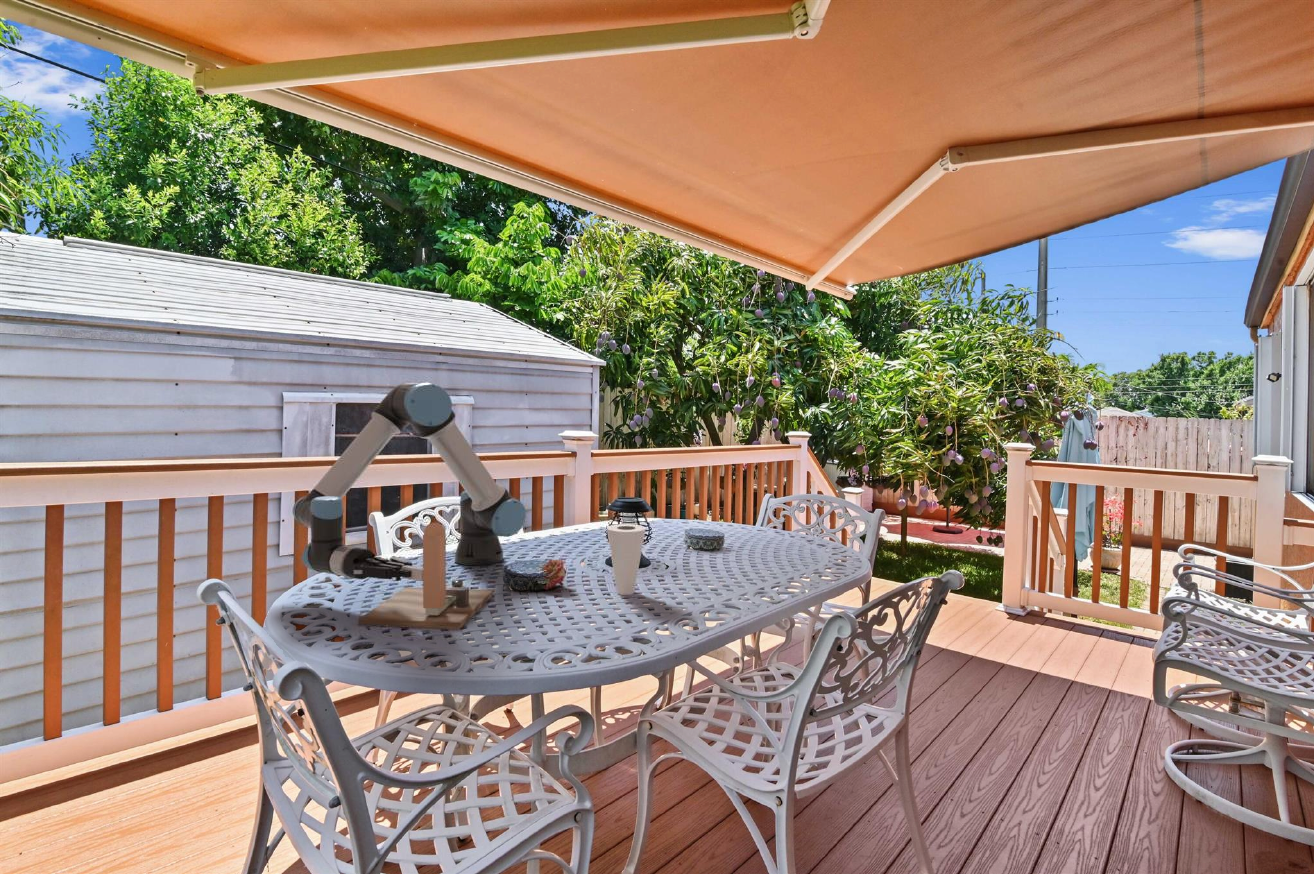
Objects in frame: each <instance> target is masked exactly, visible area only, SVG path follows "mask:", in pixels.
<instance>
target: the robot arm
mask: <svg viewBox="0 0 1314 874" xmlns="http://www.w3.org/2000/svg"><path fill="white" fill-rule="evenodd" d="M452 406H453V402H452V398H451V396H450V394H449V393H448V391H446V390H445V388H443V387H442V386H440V385H439V384H436V383H431V382H428V381H426V382H423V381H422V382H404V383H401V384H398V385H397V386H395V387H394V388H393V389H391V390H390V391H389V392H388V393H387V394H386V396H384V398H383V399H382V400H381V402H380V403H379V404H378V405H377V406H376V407H375V408H374V410H373V411H372V412H371V419H370V420H369V421H368V423H367V424H366V425H365V426H364V428H363V429H362V430H361V431H360V432H359V434H358V435H357V436H356V437H355V438H354V439H353V441H351V443H350V444H349V445H348V447H347V448H346V449H345V450H344V452H343V453H342V454H341V455H340V456H339V458H338V459H337V460H336V461H335V462H334V463H333V464H332V466H331V467H330V468H329V469H328V471H327V472H326V473H325V474H324V475H323V477H322V478H321V479H320V480H319V481H318V482H317V484H316V485H315V486H314V487H313V488H312V490H311V491H309V493H308V494H307V495H306V496H303V497H301V498H299V499H298V500H297V501H295V502H294V504H293V507H292V516H293V518H294V519H295V520H296V522H298V524H301V526H305V527H307V528H309V529H310V543H308V544H307V545H305V547H304V550H303V552H302V554H301V560H302V564H303V565H304V566H305V568H307V569H309V570H312V571H315V572H317V573H324V574H332V575H336V576H342V577H343V578H344V579H348V578H351V579H356V580H365V579H368V578H370V579H371V578H372V579H384V580H393V578H395V582H396V581H397V582H399V581H401V580H402V579H401V578H403V579H407V580H414V581H419V582H423V567H418V566H413V562H410V561H407V560H403V559H402V558H399V557H397V556H395V555H393V556H391V557H390V558H384V557H382V556H377V555H376V554H375V553H374V552H373V551H372V550H370V549H367V548H361V547H357V546H349V545H345V544H344V514H345V513H344V512H345V510H344V505H343V504H344V503H343V498H344V497H345V495H346V494H347V493H348V492H349V491H350V489H351V488H352V487H353V486H354V484H355V483H356V482H358V479H359V478H361V476H362V475H363V473H365V471H366V470H367V468H368V467H369V466H370V465H371V463H372V462H373V461H375V459H376V458H377V457H378V455H379V454H380V452H382V450H384V448H385V447H386V446H387V444H388V443H389V442H390V441H391V439H392V438H393V437H394V436H395V435H401V433H402V432H403V430H405V428H406V427H407V426H409V425H411V427H412V428H413V430H414V431H415V432H416V434H417V435H418V436H419V438H421V439H425V440H426V439H427V440H428V441H429V442H430V444H431V445H432V446H433V448H434V449H435V450H436V452H437V453H438V455H439V456H440V458H441V459H442V461H444V463H445V464H446V466H447V467H448V469H449V470H450V471H451V473H452V475H453V476H454V478H455V479H456V480H457V481H458V483H459V484H460V485H461V487H462V488H463V489H464V491H462V492H461V494H460V500H459V504H460V506H459V507H460V511H459V512H460V515H459V517H460V538H459V541H458V543H457V546H456V550H455V553H454V562H455V563H456V564H459V565H464V566H484V565H485V566H486V565H492V564H497V563H499V562H501V561H503V560H504V551H503V548H502V545H501V542H500V539H499V537H503V538H507V537H513V536H515V535H516V534H517V533H519V531H521V530H522V528H523V527H524V524H525V522H526V518H527V511H526V507H525V505H524V504H523V503H522V502H521V501H520V500H519V499H516V498H513V496H512V495H511V493H510V492H509V491H508V489H507V488H506V486H505V485H503V484H499V483H497V482H496V481H495V480H494V478H493V476H492V475H491V473H490V472H489V471H488V470H487V468H486V467H485V465H484V464H483V462H482V461H481V459H480V458H479V456H478V455H477V454H476V451H474V449H473V448H472V446H471V445H470V443H469V442H468V440H467V438H466V437H465V436H464V434H463V433H462V432H461V430H460V429H459V427H458V426H457V424H456V423H455V420H456V417H457V416H456V413H455V412H454V410H453V408H452Z"/></svg>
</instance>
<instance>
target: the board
mask: <svg viewBox="0 0 1314 874" xmlns="http://www.w3.org/2000/svg"><path fill="white" fill-rule="evenodd" d="M493 596H494V590H493V589H472V588H469V605H468V606H467V607H466V608H463V607H456V600H454V601H453V602H452V603H451V604H450V605H449V606H448V607H447V608H446V609H444V610H443V611H442V612H441V613H440V614H439V615H425V608H423V587H412V586H411V587H408V586H405V587H403V588H402V589H401V590H399V591H397V592H396V593H395V594H393V595H392V596H390V597H388V599H386V600H384V601H383V602H382V603H380V604H378V605H377V606H376V607H374V608H372V609H371V610H369V611H368V612H366V613H365V614H363V616H361V617H359V618H358V626H363V625H385V626H384V627H391V626H397V628H418V627H420V628H424V629H452V630H461V629H462V628H463V626H465V625H466V623H467V622H468V621H469V620H470V619H471V618H473V616H474V615H476V613H478V612H479V610H481V608H482V607H483V606H484V605H485V604H486V603H487V602H488V601H489V600H490V599H491V598H492V597H493ZM386 625H388V626H386Z"/></svg>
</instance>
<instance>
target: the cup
mask: <svg viewBox="0 0 1314 874" xmlns="http://www.w3.org/2000/svg"><path fill="white" fill-rule="evenodd" d="M646 528H647V527H645V526H643V525H640V524H633V523H632V524H631V523H628V524H627V523H621V524H612V525H608V526H607V527H606V530H607V531H606V532H607V537H608V538H607V539H608V545H609V548H610V555H611V563H612V564H611V565H612V570H613V576H614V577H613V578H614V583H615V589H616V594H618V595H621V596H630V595H634V594H635V592H636V591H635V588H636V584H637V579H638V571H639V569H640V568H639V566H640V562H641V557H642V552H643V551H642V550H643V546H644V539H645V536H646V535H645V534H646V530H647V529H646Z"/></svg>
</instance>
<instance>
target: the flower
mask: <svg viewBox="0 0 1314 874" xmlns="http://www.w3.org/2000/svg"><path fill="white" fill-rule="evenodd" d="M566 563H567V561H566V560H565V561H564V560H563V558H562V557H561V558H559V559H549V560H548V561H547V563H545V564H543V565H542V566H540V567H539V568H542V569H541V570H542V571H544V570H546V571H544V573H543V574H546V573H549V574H548V576H546V577H549V578H550V580H547V581H544V582H543V583H542V584H545V583H547V582H548V581H549V582H550V584H551V585H544V590H547V591H548V590H549V589H552V588H553V587H556V585H557V584H559V585H560V587H562V586H564V582H563V581H564V580H565V578H566V576H567V569H568V565H566V567H564V564H566ZM549 587H550V588H549Z"/></svg>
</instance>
